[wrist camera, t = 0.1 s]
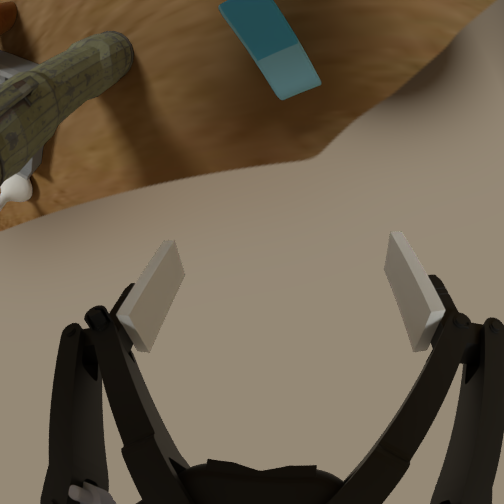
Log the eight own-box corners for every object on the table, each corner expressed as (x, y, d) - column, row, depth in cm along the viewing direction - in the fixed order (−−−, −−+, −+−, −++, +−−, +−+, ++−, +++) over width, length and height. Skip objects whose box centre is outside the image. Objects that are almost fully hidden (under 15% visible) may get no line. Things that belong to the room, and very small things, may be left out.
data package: (310, 62, 30) (324, 88, 22) (280, 74, 31) (281, 105, 24) (264, -11, 22) (260, -18, 14) (232, 4, 24) (214, 6, 16)
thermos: (71, 71, 29) (-96, 246, 8) (110, 12, 23) (-128, 169, 1) (107, 99, 34) (-40, 298, 13) (152, 44, 28) (-65, 247, 6)
